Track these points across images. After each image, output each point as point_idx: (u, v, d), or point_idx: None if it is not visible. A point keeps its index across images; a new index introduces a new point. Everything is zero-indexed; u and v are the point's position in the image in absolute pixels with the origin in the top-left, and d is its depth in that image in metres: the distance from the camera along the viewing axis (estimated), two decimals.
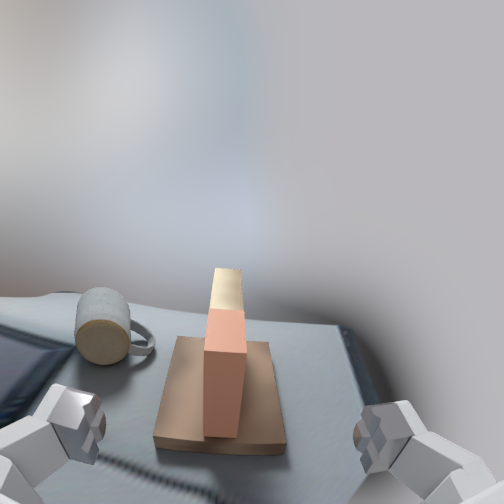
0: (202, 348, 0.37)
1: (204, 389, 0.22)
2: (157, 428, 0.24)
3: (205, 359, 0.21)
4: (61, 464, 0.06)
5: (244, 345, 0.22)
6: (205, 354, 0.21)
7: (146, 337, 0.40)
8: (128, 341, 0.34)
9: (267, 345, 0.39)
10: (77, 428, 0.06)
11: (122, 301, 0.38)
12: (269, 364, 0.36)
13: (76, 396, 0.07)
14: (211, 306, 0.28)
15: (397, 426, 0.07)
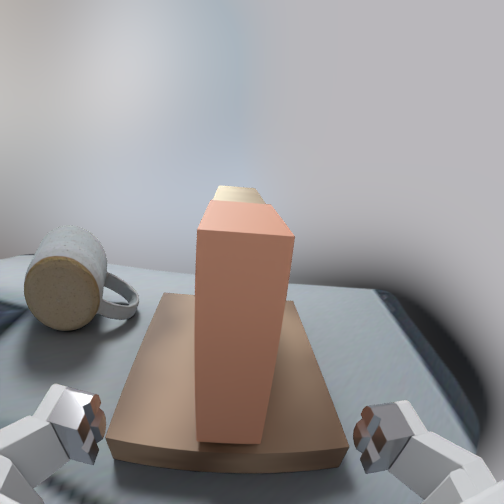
0: None
1: (197, 335, 0.11)
2: (114, 425, 0.13)
3: (200, 254, 0.10)
4: (61, 464, 0.06)
5: (284, 229, 0.10)
6: (200, 240, 0.10)
7: (127, 297, 0.29)
8: (97, 292, 0.23)
9: (292, 304, 0.28)
10: (77, 428, 0.06)
11: (96, 243, 0.27)
12: (299, 327, 0.24)
13: (76, 396, 0.07)
14: None
15: (397, 427, 0.07)
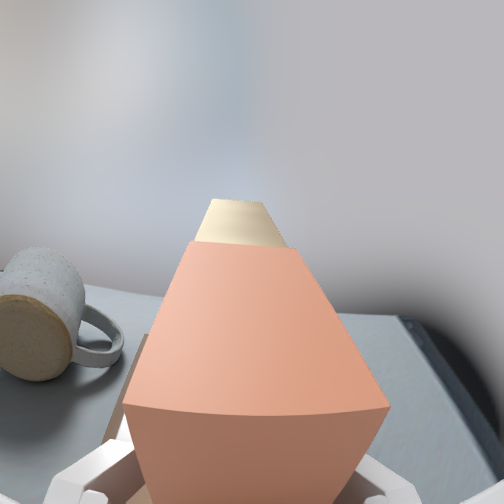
0: None
1: None
2: None
3: (143, 447, 0.03)
4: (142, 485, 0.06)
5: (354, 364, 0.04)
6: (137, 425, 0.03)
7: (111, 335, 0.22)
8: (68, 340, 0.16)
9: None
10: None
11: (69, 270, 0.20)
12: None
13: None
14: None
15: None
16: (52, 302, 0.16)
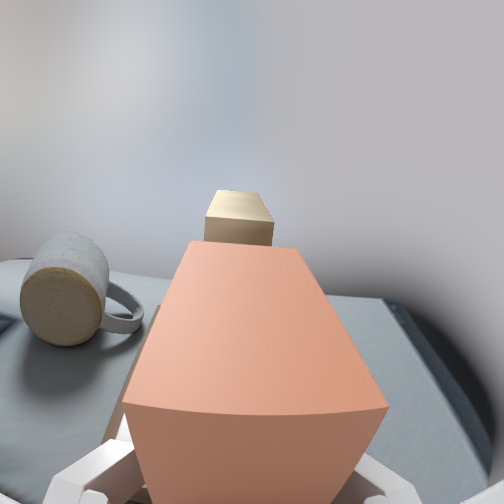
0: None
1: None
2: None
3: (143, 446, 0.03)
4: (141, 485, 0.06)
5: (353, 364, 0.04)
6: (137, 423, 0.03)
7: (131, 308, 0.27)
8: (99, 307, 0.21)
9: None
10: None
11: (97, 251, 0.25)
12: None
13: None
14: (209, 214, 0.14)
15: None
16: (87, 274, 0.20)
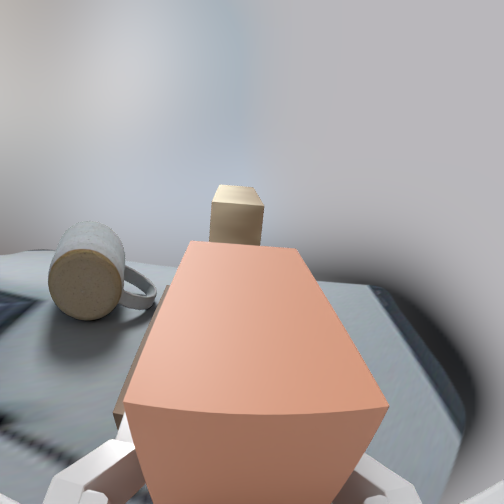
0: None
1: None
2: (121, 401, 0.14)
3: (144, 446, 0.03)
4: (141, 485, 0.06)
5: (354, 363, 0.04)
6: (138, 423, 0.03)
7: (145, 289, 0.31)
8: (120, 283, 0.25)
9: None
10: None
11: (116, 238, 0.29)
12: None
13: None
14: (214, 200, 0.18)
15: None
16: (110, 255, 0.24)
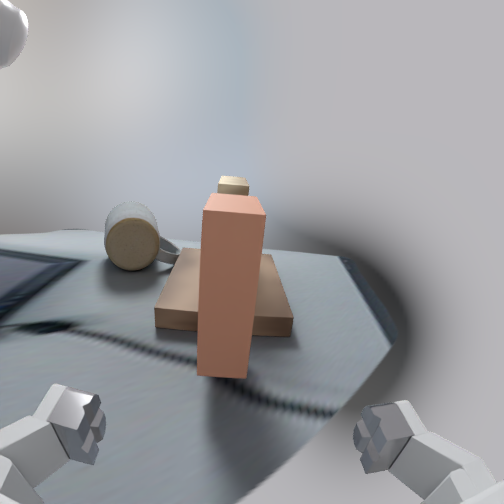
0: None
1: (201, 283, 0.16)
2: (159, 302, 0.26)
3: (204, 226, 0.15)
4: (61, 464, 0.06)
5: (260, 211, 0.16)
6: (205, 217, 0.15)
7: (171, 252, 0.43)
8: (158, 243, 0.37)
9: (270, 256, 0.42)
10: (77, 428, 0.06)
11: (152, 214, 0.41)
12: (272, 267, 0.38)
13: (76, 396, 0.07)
14: (219, 183, 0.30)
15: (397, 426, 0.07)
16: (152, 223, 0.37)
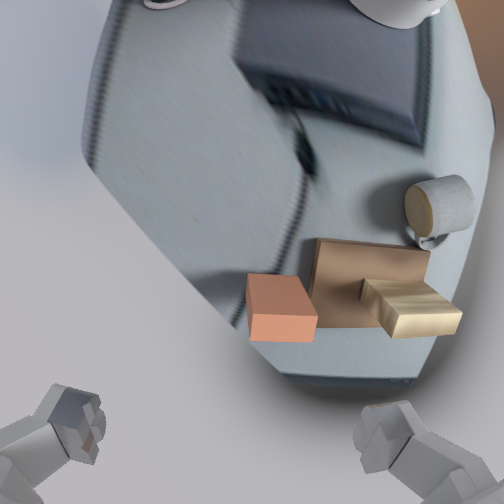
0: (412, 274, 0.40)
1: (250, 296, 0.32)
2: (328, 244, 0.37)
3: (252, 310, 0.29)
4: (61, 464, 0.06)
5: (259, 339, 0.29)
6: (252, 312, 0.29)
7: (436, 239, 0.40)
8: (420, 236, 0.36)
9: None
10: (77, 428, 0.06)
11: (462, 228, 0.34)
12: None
13: (76, 396, 0.07)
14: (402, 315, 0.30)
15: (397, 427, 0.07)
16: (433, 233, 0.34)
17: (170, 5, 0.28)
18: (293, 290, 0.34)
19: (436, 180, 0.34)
